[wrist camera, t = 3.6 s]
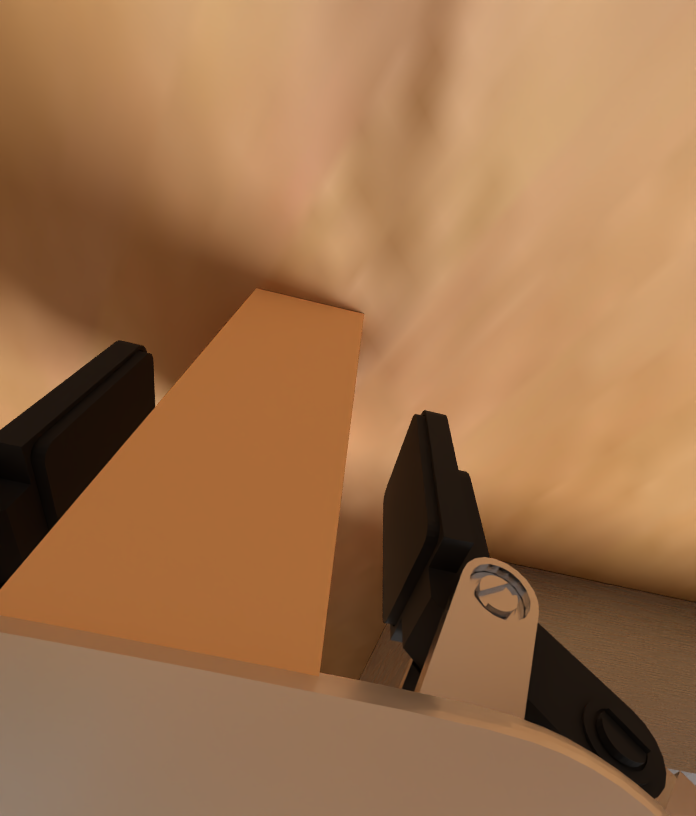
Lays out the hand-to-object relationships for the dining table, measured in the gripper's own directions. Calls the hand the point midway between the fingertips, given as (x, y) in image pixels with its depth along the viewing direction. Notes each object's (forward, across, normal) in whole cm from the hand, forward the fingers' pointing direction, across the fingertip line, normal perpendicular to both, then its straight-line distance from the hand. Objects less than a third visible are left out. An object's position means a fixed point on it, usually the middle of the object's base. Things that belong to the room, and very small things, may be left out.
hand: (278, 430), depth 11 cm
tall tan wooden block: (+3, 0, 0) cm, 3 cm away
